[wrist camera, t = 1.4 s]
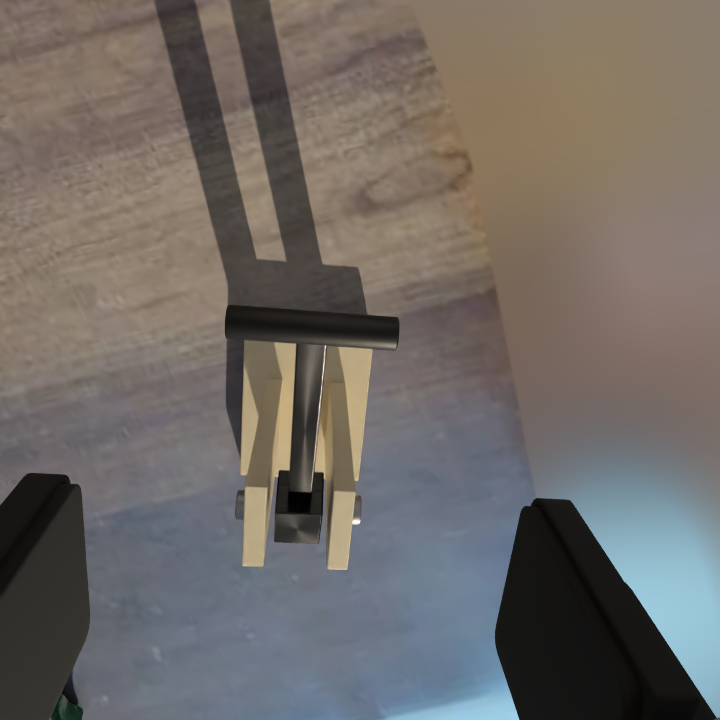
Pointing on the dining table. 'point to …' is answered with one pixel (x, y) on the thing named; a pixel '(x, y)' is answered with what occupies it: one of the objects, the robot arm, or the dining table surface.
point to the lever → (307, 396)
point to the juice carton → (66, 710)
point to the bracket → (273, 441)
